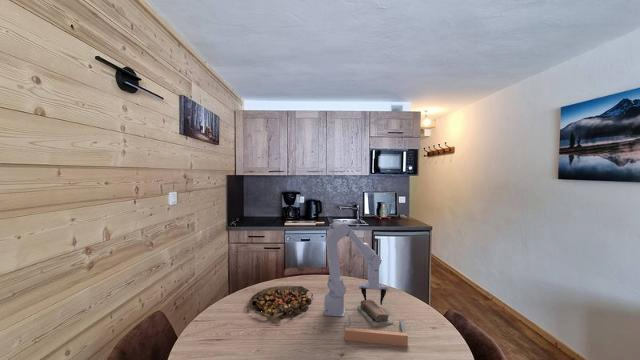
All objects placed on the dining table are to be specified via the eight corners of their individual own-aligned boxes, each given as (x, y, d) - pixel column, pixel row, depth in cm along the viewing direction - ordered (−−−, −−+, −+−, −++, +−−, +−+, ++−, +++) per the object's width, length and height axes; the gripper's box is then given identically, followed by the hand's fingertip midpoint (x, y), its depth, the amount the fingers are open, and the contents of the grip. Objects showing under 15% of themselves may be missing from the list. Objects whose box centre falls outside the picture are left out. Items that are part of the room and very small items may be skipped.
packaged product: (356, 299, 136) (374, 297, 138) (356, 309, 136) (374, 306, 138) (373, 317, 118) (393, 314, 121) (373, 328, 118) (393, 325, 121)
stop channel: (344, 340, 109) (344, 330, 109) (347, 319, 125) (347, 311, 125) (407, 346, 105) (407, 335, 105) (402, 324, 121) (402, 315, 121)
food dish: (298, 329, 120) (298, 311, 119) (235, 318, 130) (234, 302, 130) (322, 294, 153) (322, 280, 153) (270, 288, 163) (270, 275, 163)
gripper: (387, 275, 141) (387, 301, 141) (359, 273, 143) (359, 299, 143) (388, 280, 134) (388, 307, 134) (359, 278, 136) (359, 305, 136)
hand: (373, 303), depth 138 cm, fingers open, 7 cm apart
